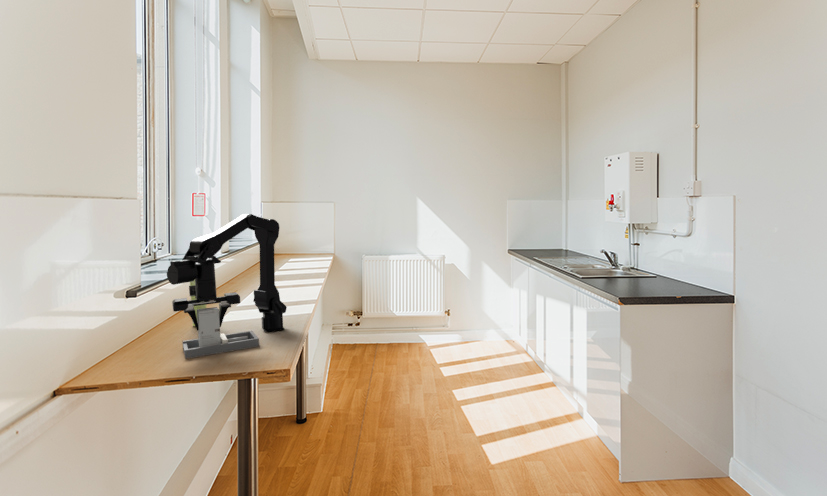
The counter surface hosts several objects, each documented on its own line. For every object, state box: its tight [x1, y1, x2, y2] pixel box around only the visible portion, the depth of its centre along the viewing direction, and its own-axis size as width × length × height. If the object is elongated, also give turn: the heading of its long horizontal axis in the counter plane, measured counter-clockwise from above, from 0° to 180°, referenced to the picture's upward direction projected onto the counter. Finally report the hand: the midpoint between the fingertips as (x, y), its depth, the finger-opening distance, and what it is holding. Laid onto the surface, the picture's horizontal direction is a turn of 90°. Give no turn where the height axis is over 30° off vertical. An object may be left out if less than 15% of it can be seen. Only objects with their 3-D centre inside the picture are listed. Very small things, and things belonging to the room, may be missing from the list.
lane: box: [182, 330, 260, 359], centre depth 142 cm, size 21×11×2 cm, turn 120°
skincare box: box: [197, 306, 221, 347], centre depth 140 cm, size 6×4×12 cm
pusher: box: [220, 332, 248, 344], centre depth 144 cm, size 8×8×3 cm
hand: (208, 328), depth 140 cm, fingers closed on skincare box, 6 cm apart
